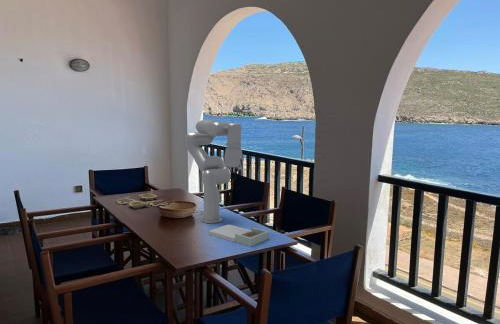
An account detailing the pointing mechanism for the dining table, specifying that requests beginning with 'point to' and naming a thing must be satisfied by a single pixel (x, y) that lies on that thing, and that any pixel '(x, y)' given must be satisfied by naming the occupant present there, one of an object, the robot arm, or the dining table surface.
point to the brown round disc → (250, 234)
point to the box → (253, 240)
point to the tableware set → (140, 204)
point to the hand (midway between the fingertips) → (233, 179)
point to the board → (228, 232)
